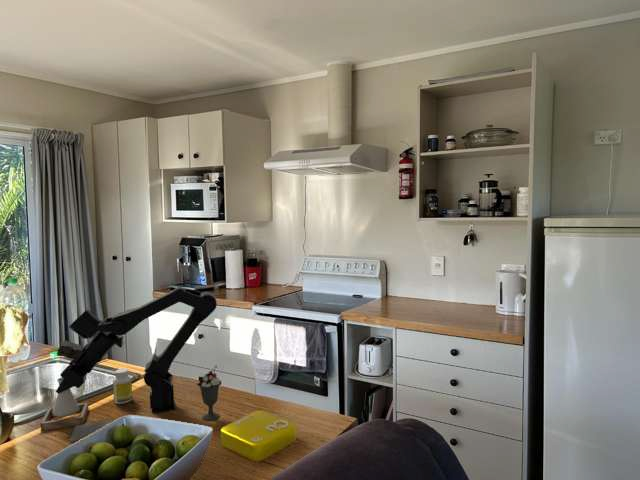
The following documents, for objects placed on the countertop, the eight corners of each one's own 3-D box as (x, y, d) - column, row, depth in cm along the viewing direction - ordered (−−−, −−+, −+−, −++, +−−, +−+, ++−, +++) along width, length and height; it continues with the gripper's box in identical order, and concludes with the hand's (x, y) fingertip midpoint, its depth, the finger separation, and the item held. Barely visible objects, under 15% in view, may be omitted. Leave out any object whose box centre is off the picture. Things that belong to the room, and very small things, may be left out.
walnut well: (88, 408, 145) (88, 402, 145) (83, 424, 135) (82, 417, 135) (49, 414, 142) (48, 408, 142) (40, 430, 132) (40, 423, 131)
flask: (73, 404, 143) (70, 372, 142) (84, 410, 139) (81, 377, 138) (47, 413, 138) (44, 379, 137) (58, 420, 133) (55, 385, 132)
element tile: (260, 423, 134) (259, 406, 134) (299, 439, 125) (299, 421, 124) (217, 445, 123) (216, 427, 122) (257, 464, 113) (257, 445, 113)
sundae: (227, 416, 138) (225, 366, 137) (207, 424, 133) (205, 372, 132) (214, 409, 143) (212, 361, 141) (194, 417, 138) (192, 367, 136)
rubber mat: (110, 421, 136) (110, 420, 136) (107, 436, 128) (107, 434, 128) (75, 427, 133) (75, 425, 133) (69, 442, 125) (69, 440, 125)
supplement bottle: (136, 399, 152) (134, 369, 151) (121, 405, 147) (119, 374, 146) (125, 395, 154) (123, 366, 154) (110, 402, 150) (108, 371, 149)
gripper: (82, 323, 146) (45, 362, 144) (66, 340, 128) (23, 385, 126) (111, 346, 149) (75, 384, 147) (100, 365, 131) (58, 410, 129)
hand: (58, 390), depth 137 cm, fingers closed on flask, 3 cm apart
